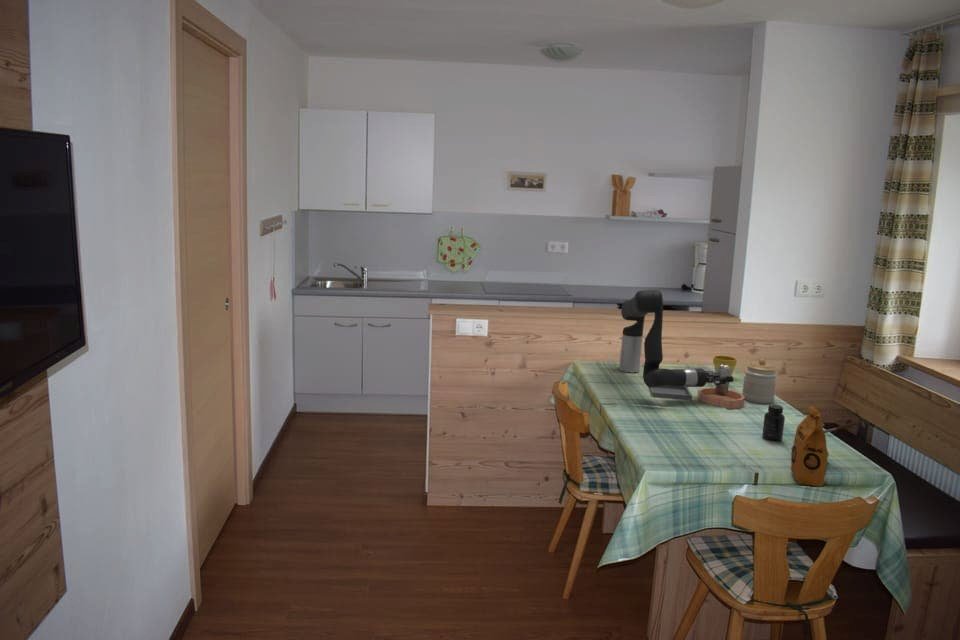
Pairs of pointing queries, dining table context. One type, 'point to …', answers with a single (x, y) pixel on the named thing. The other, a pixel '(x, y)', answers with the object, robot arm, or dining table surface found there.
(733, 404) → the terracotta bowl
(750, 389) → the jar
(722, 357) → the plant pot
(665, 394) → the tray
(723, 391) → the silver gray cylinder
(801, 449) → the coffee package
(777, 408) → the supplement bottle
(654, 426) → the dining table surface
